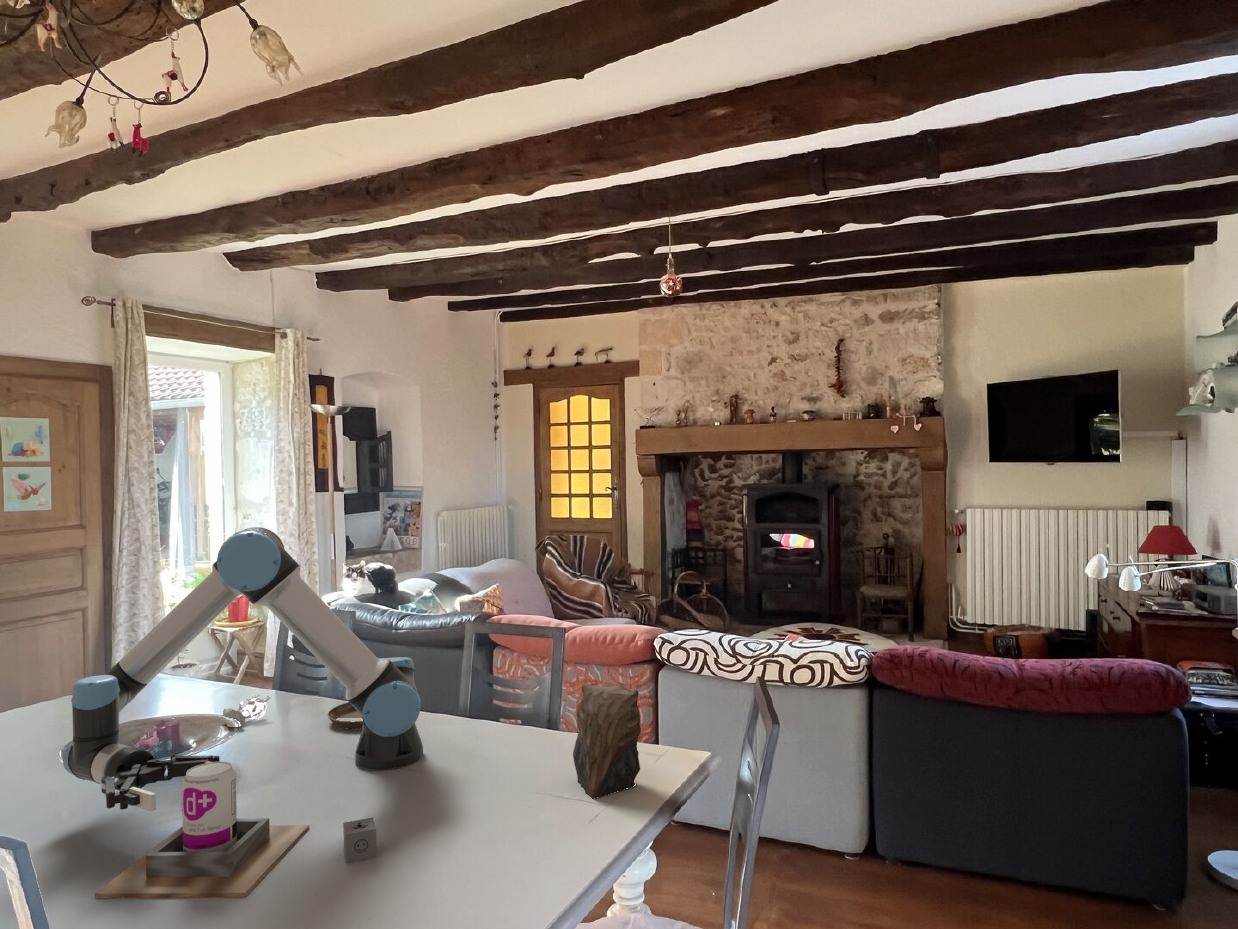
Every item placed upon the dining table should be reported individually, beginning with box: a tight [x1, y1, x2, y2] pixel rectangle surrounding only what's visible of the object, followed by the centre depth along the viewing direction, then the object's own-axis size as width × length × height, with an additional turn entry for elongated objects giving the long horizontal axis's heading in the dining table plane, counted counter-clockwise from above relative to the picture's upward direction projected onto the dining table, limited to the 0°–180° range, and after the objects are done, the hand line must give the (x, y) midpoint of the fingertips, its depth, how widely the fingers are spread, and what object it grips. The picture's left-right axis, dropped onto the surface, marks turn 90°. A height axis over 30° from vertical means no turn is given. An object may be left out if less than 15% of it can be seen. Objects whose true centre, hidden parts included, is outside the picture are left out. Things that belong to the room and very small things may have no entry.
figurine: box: [222, 694, 271, 727], centre depth 215 cm, size 9×6×12 cm
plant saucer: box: [327, 701, 363, 730], centre depth 215 cm, size 21×21×3 cm
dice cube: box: [342, 816, 378, 865], centre depth 138 cm, size 5×5×5 cm
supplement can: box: [181, 761, 238, 852], centre depth 137 cm, size 8×8×15 cm
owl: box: [572, 683, 642, 800], centre depth 167 cm, size 13×13×20 cm
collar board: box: [94, 817, 310, 899], centre depth 137 cm, size 24×24×5 cm
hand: (192, 788), depth 139 cm, fingers open, 13 cm apart
